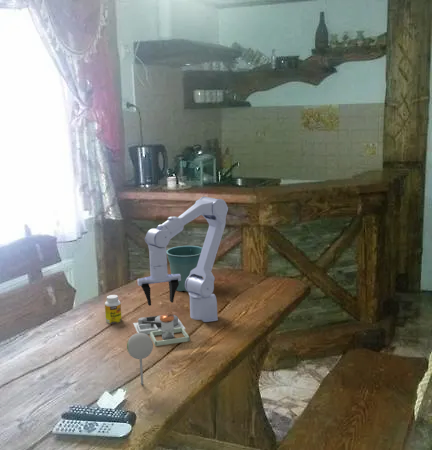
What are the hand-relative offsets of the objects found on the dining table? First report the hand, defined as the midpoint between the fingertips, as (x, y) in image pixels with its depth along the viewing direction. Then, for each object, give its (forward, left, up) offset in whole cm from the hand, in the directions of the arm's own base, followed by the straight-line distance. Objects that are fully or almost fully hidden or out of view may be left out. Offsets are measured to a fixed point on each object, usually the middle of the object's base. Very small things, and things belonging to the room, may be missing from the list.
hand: (160, 303), depth 204 cm
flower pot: (-21, -45, -11) cm, 51 cm away
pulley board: (0, -3, -10) cm, 11 cm away
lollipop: (+13, +36, -11) cm, 40 cm away
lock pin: (0, +8, -10) cm, 13 cm away
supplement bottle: (+14, -14, -11) cm, 23 cm away
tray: (-1, +9, -10) cm, 14 cm away
